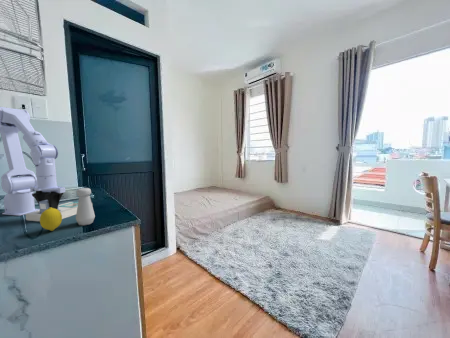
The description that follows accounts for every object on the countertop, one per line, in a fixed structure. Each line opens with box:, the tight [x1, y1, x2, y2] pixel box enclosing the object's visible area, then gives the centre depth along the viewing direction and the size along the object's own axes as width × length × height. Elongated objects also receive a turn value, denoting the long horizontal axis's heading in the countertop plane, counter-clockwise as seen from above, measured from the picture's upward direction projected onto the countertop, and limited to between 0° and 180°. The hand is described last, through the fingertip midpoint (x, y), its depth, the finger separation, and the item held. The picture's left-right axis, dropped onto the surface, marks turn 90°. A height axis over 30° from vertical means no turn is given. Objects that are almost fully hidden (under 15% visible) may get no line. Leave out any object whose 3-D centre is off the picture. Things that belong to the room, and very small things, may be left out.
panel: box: [25, 201, 94, 222], centre depth 83 cm, size 12×18×3 cm, turn 169°
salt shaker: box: [75, 187, 96, 226], centre depth 72 cm, size 6×6×13 cm
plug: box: [38, 200, 59, 214], centre depth 78 cm, size 4×4×7 cm
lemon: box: [39, 207, 63, 232], centre depth 66 cm, size 6×6×8 cm
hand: (49, 209), depth 78 cm, fingers closed on plug, 4 cm apart
